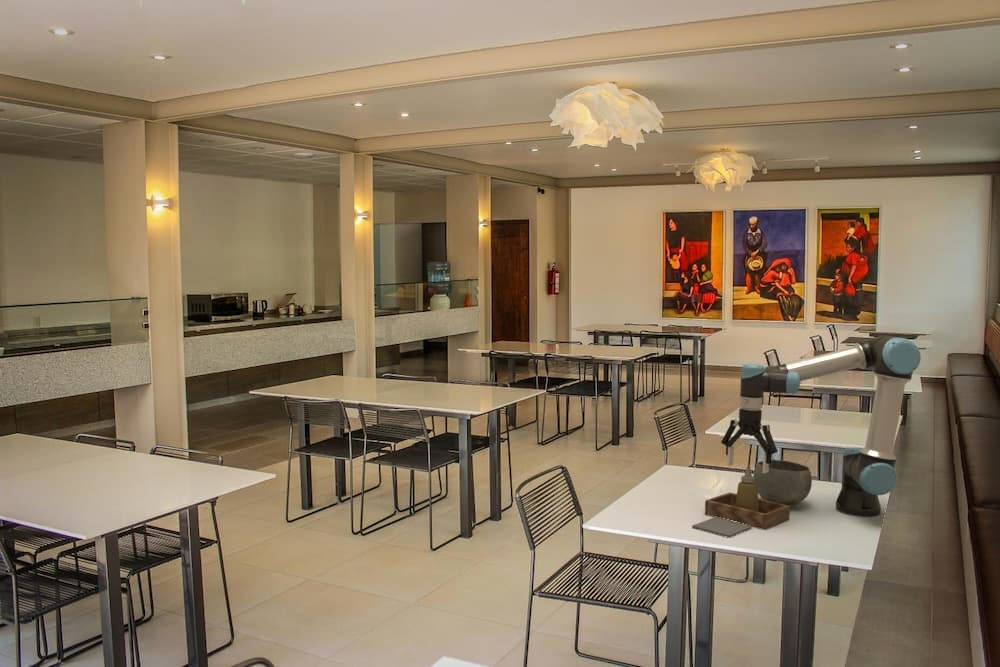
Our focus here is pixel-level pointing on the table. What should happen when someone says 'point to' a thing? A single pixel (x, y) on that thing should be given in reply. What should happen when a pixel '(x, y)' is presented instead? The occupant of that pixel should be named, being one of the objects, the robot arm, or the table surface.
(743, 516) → the tray
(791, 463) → the bowl
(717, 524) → the charcoal mat
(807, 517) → the table surface
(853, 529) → the table surface
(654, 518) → the table surface
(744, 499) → the squeeze bottle
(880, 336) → the robot arm
